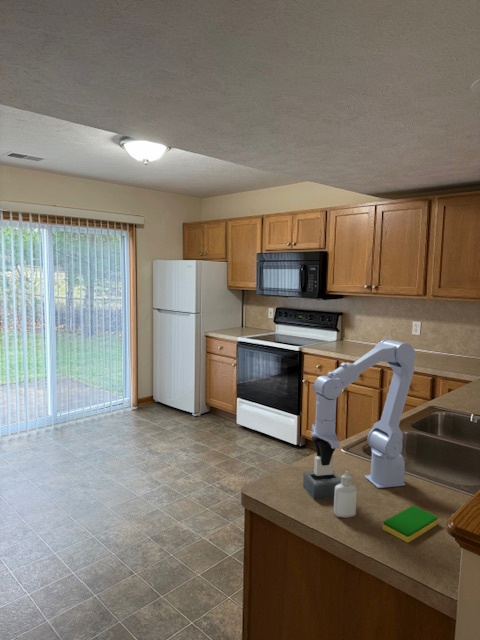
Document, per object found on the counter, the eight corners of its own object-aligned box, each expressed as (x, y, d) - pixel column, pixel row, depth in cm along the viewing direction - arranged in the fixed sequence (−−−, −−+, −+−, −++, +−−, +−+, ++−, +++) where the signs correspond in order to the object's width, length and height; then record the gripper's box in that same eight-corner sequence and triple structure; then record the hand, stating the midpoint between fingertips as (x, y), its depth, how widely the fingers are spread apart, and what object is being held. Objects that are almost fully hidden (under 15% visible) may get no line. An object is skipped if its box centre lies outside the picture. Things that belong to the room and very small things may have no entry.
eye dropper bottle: (353, 521, 114) (356, 476, 113) (332, 516, 116) (334, 472, 115) (356, 512, 118) (358, 469, 117) (335, 508, 120) (337, 465, 119)
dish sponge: (382, 530, 111) (382, 521, 110) (412, 513, 119) (413, 504, 119) (407, 544, 105) (408, 535, 105) (437, 525, 114) (438, 516, 113)
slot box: (330, 483, 135) (331, 469, 134) (342, 496, 127) (343, 480, 126) (303, 486, 132) (303, 471, 132) (313, 499, 125) (314, 483, 124)
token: (329, 471, 131) (330, 455, 130) (332, 474, 129) (333, 457, 128) (313, 472, 130) (314, 456, 129) (316, 475, 128) (317, 459, 127)
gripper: (303, 411, 134) (301, 454, 135) (323, 426, 120) (321, 475, 121) (324, 409, 135) (322, 452, 137) (346, 425, 121) (344, 472, 123)
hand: (323, 463), depth 129 cm, fingers closed on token, 2 cm apart
